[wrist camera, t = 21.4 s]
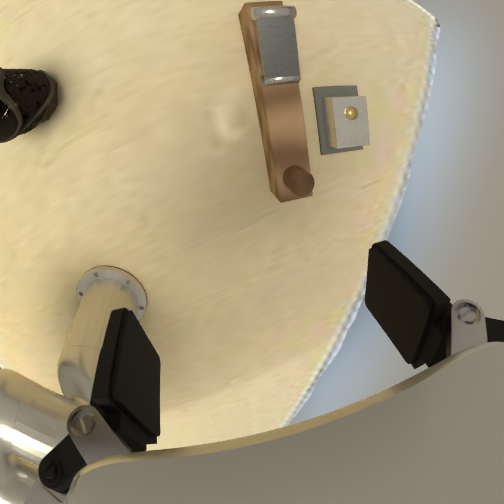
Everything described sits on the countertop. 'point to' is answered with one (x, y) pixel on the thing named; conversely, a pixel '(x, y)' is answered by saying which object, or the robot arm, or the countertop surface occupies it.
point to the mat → (319, 93)
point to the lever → (277, 43)
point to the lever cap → (345, 121)
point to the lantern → (24, 101)
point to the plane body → (278, 121)
